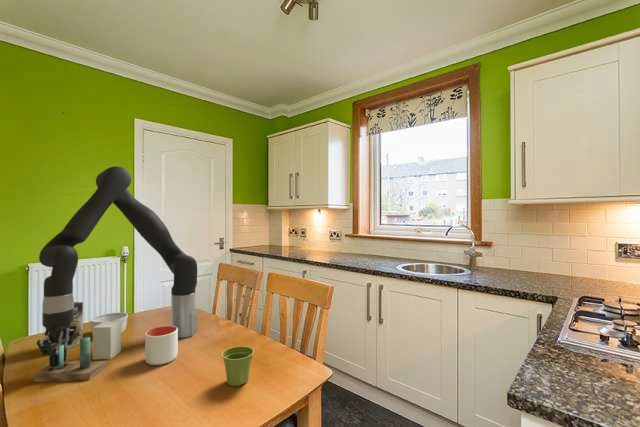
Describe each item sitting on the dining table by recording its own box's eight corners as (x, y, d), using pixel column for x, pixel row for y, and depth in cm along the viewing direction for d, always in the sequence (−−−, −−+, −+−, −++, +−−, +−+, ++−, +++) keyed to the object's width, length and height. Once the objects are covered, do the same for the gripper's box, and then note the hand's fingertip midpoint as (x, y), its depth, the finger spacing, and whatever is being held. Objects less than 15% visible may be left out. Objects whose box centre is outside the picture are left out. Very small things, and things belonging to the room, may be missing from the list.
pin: (65, 372, 98) (66, 343, 98) (58, 376, 95) (59, 347, 96) (57, 372, 98) (58, 343, 98) (50, 376, 95) (50, 347, 96)
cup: (184, 356, 109) (184, 328, 109) (158, 369, 100) (158, 338, 100) (164, 351, 113) (164, 324, 113) (138, 363, 104) (138, 333, 104)
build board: (80, 367, 101) (80, 360, 101) (61, 380, 93) (61, 372, 93) (54, 368, 100) (54, 361, 100) (33, 381, 92) (33, 373, 92)
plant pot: (227, 373, 98) (227, 345, 98) (257, 373, 97) (257, 345, 97) (216, 389, 88) (216, 359, 88) (249, 390, 88) (249, 359, 88)
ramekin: (120, 325, 140) (120, 310, 141) (133, 331, 133) (133, 315, 133) (85, 334, 130) (85, 318, 130) (97, 342, 122) (97, 324, 122)
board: (106, 367, 102) (106, 333, 102) (89, 379, 94) (89, 343, 94) (80, 367, 101) (80, 334, 101) (61, 380, 93) (62, 344, 93)
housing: (120, 351, 113) (120, 321, 113) (110, 358, 107) (110, 327, 107) (103, 351, 113) (103, 321, 113) (92, 359, 107) (92, 327, 107)
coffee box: (59, 353, 112) (59, 308, 112) (45, 352, 113) (45, 307, 113) (83, 343, 121) (83, 302, 121) (70, 342, 122) (70, 301, 122)
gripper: (62, 302, 104) (62, 354, 103) (26, 316, 90) (25, 375, 90) (86, 302, 104) (85, 353, 104) (53, 315, 90) (53, 374, 90)
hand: (58, 363), depth 97 cm, fingers closed on pin, 2 cm apart
